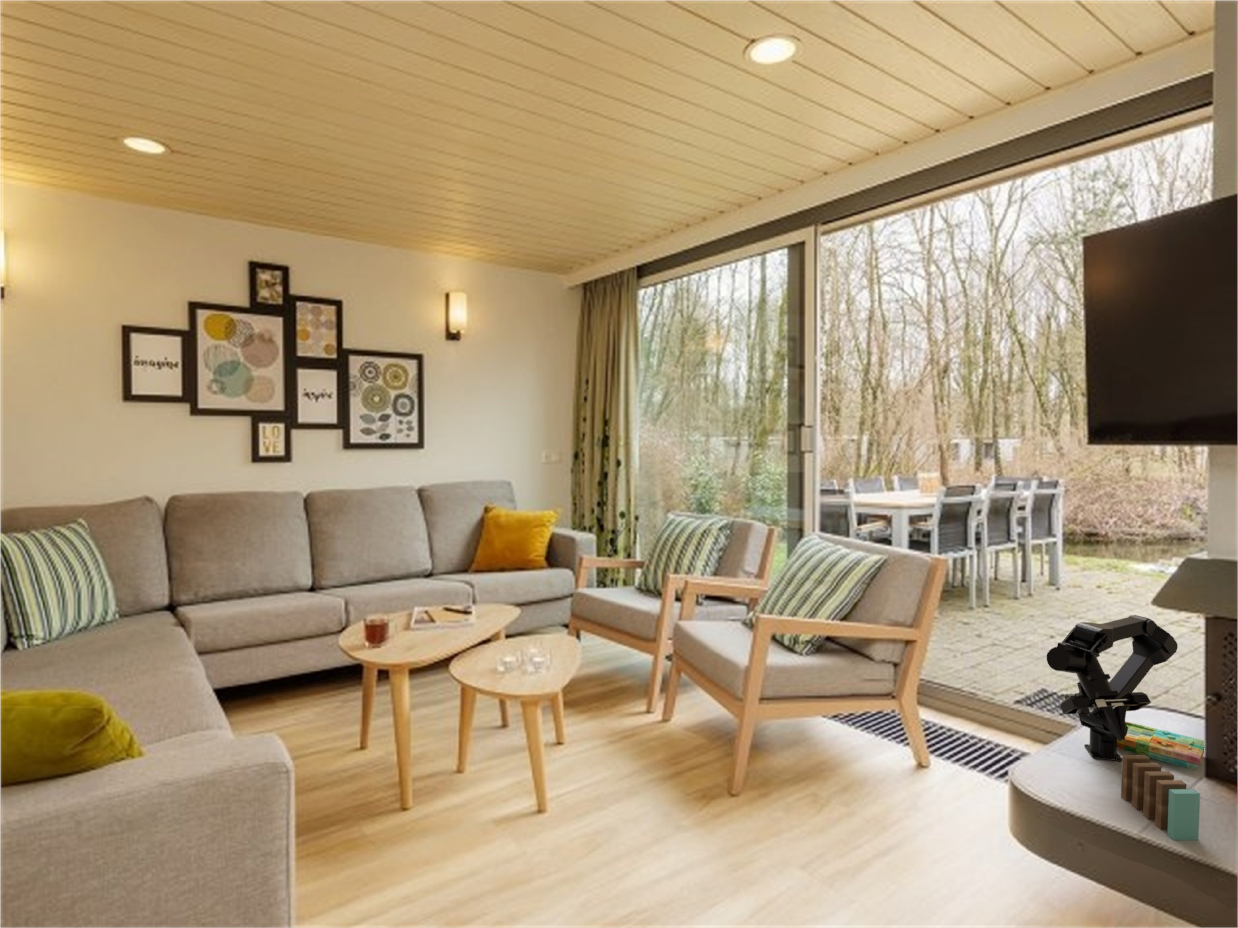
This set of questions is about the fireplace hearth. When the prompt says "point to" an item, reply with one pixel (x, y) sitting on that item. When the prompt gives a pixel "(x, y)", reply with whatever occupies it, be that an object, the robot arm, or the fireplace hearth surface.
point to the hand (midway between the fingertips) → (1122, 740)
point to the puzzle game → (1163, 745)
